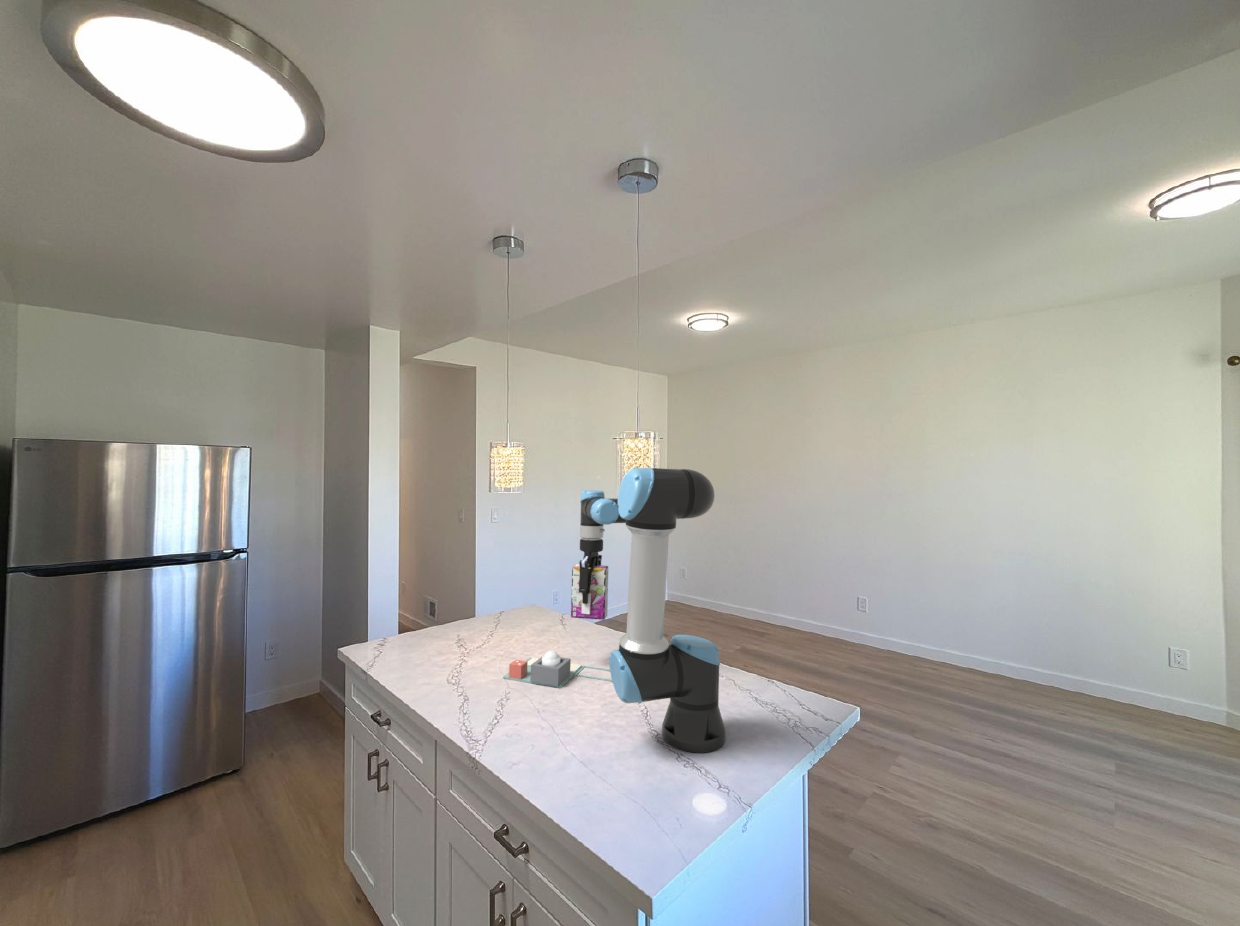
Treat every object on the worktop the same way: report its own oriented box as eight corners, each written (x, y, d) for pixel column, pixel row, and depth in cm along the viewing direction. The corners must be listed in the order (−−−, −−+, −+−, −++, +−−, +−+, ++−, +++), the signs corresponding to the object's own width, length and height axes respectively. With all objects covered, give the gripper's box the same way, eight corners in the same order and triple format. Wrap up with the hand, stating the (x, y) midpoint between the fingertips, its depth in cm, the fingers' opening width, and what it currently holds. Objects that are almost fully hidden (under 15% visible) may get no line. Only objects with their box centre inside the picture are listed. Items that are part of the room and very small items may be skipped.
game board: (559, 688, 145) (559, 669, 145) (502, 679, 151) (502, 660, 151) (581, 667, 162) (582, 649, 162) (529, 659, 168) (530, 642, 168)
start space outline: (615, 681, 151) (615, 681, 151) (573, 675, 155) (573, 674, 155) (623, 672, 159) (623, 671, 159) (583, 666, 163) (583, 665, 163)
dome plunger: (555, 676, 148) (555, 655, 148) (538, 673, 149) (538, 652, 150) (563, 669, 153) (563, 649, 153) (546, 666, 155) (547, 646, 155)
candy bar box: (570, 618, 157) (571, 566, 158) (574, 614, 162) (575, 563, 163) (605, 620, 156) (605, 567, 156) (608, 616, 160) (608, 565, 161)
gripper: (591, 542, 149) (589, 620, 149) (612, 536, 167) (610, 605, 167) (568, 541, 152) (566, 617, 151) (591, 534, 169) (589, 602, 169)
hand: (589, 610), depth 159 cm, fingers closed on candy bar box, 5 cm apart
